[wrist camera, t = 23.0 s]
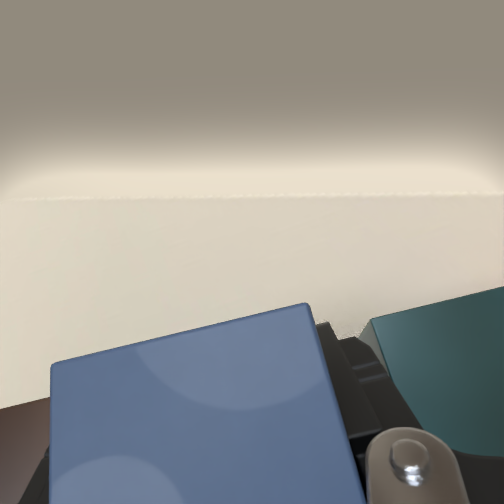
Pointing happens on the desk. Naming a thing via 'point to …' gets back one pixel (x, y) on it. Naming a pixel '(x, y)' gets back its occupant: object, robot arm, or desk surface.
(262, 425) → the blue block
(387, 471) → the robot arm
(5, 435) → the block row
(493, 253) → the desk surface
